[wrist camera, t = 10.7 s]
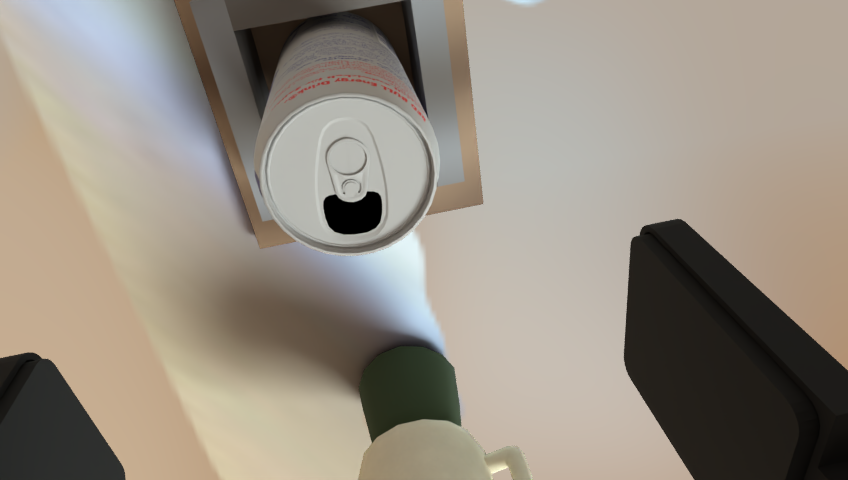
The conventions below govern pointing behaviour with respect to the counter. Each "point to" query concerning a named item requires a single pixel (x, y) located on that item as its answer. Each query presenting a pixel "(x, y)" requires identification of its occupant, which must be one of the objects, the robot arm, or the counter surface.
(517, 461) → the character mug
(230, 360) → the counter surface
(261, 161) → the energy drink
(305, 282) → the counter surface
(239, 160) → the can holder
